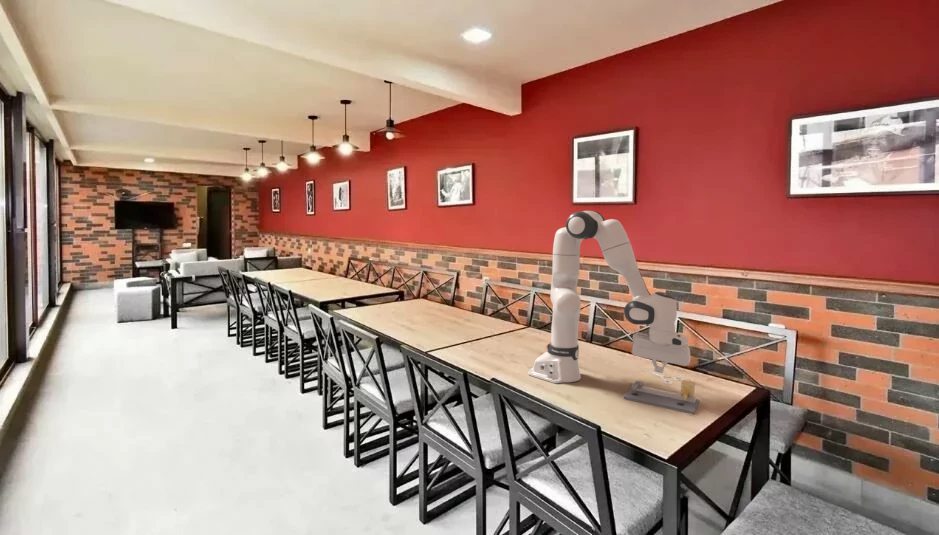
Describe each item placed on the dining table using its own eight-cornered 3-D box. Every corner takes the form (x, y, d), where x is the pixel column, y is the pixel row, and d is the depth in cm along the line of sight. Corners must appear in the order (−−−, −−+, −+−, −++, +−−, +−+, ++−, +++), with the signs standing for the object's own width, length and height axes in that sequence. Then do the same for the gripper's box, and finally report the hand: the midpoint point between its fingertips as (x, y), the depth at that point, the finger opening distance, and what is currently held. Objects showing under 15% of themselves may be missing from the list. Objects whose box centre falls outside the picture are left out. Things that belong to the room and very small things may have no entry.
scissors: (672, 385, 181) (633, 370, 199) (672, 387, 182) (633, 371, 199) (690, 380, 186) (650, 366, 204) (689, 382, 186) (650, 367, 204)
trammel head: (678, 402, 162) (679, 385, 161) (682, 395, 167) (683, 379, 167) (690, 404, 159) (691, 388, 158) (694, 398, 165) (695, 382, 164)
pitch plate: (623, 398, 170) (623, 388, 169) (632, 388, 179) (633, 378, 179) (693, 414, 156) (694, 403, 155) (699, 402, 165) (699, 392, 165)
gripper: (630, 332, 171) (628, 367, 173) (689, 342, 159) (686, 380, 161) (635, 329, 176) (633, 363, 178) (692, 339, 164) (689, 375, 166)
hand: (658, 371), depth 169 cm, fingers closed
